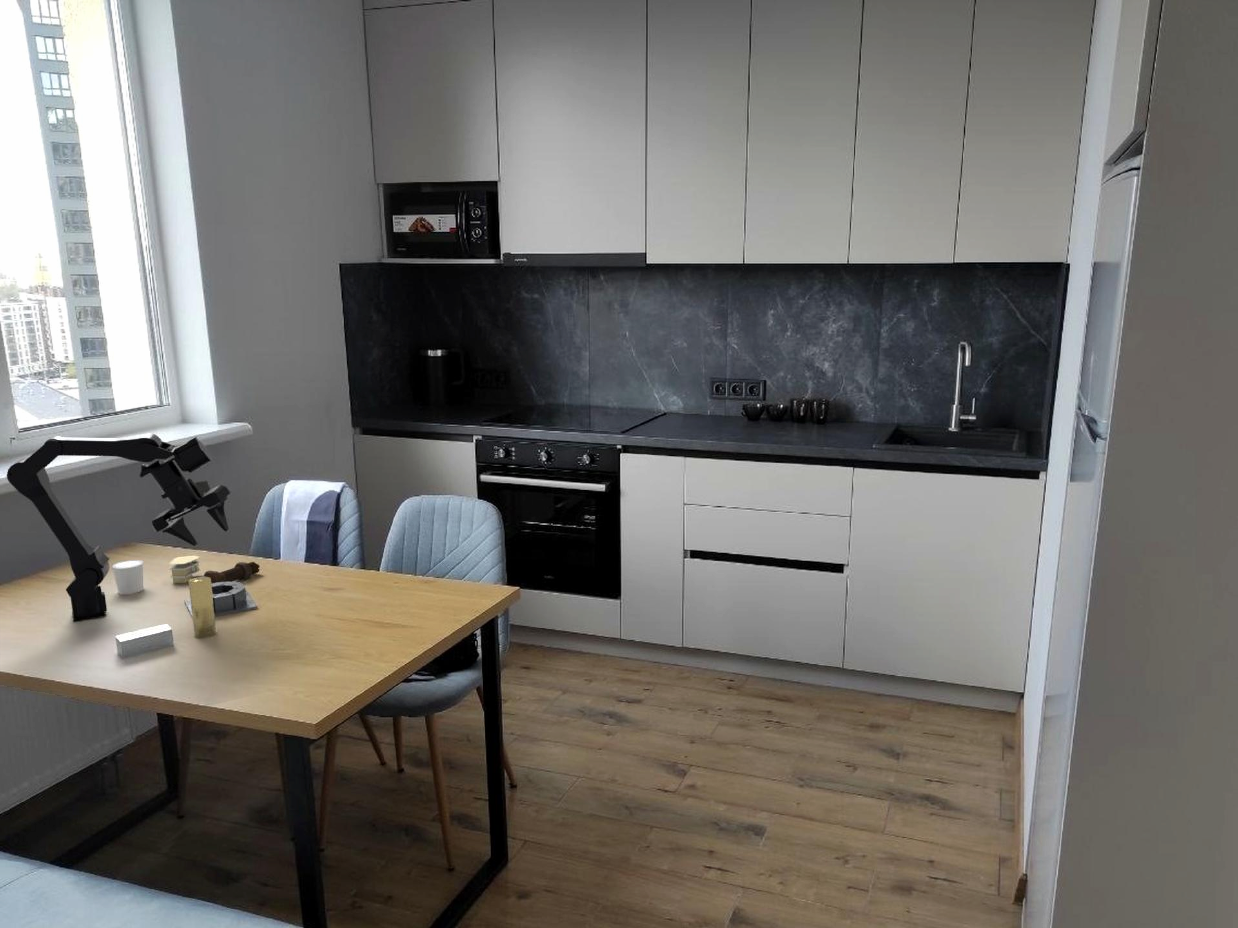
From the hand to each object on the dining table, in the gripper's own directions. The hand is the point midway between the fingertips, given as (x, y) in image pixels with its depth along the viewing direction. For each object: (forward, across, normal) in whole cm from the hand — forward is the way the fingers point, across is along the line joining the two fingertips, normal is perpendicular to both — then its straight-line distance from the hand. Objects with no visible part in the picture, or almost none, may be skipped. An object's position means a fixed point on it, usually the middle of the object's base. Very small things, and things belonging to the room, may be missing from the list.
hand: (211, 537), depth 221 cm
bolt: (+16, +10, -11) cm, 22 cm away
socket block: (+15, +5, +5) cm, 16 cm away
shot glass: (+5, +31, -4) cm, 31 cm away
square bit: (+9, +6, +31) cm, 33 cm away
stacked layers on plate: (+11, +23, -13) cm, 29 cm away
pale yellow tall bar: (+14, -1, +22) cm, 26 cm away
